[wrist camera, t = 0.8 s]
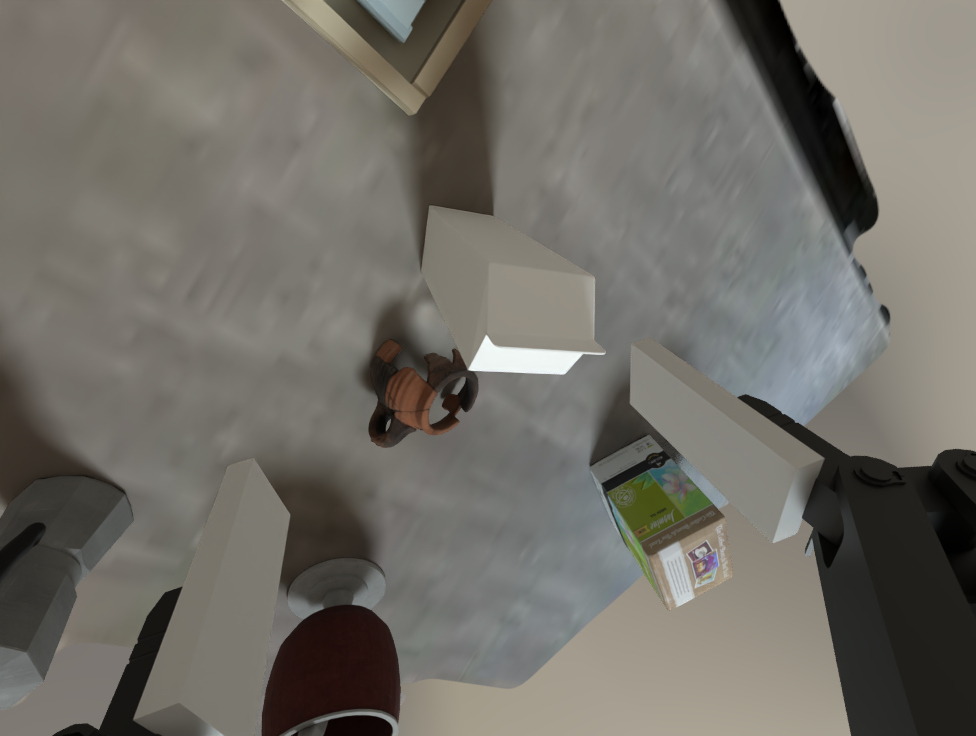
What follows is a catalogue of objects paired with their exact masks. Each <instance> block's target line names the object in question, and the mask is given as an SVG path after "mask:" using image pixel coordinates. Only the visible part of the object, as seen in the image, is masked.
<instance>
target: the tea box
mask: <svg viewBox="0 0 976 736" xmlns="http://www.w3.org/2000/svg"><path fill="white" fill-rule="evenodd" d="M590 470H591V473H592V475H593V478H594V481H595V483H596V486H597V488H598V491H599V493H600V495H601V498H602V500H603V503H604V505H605V507H606V509H607V512H608V514H609V517H610V519H611V521H612V524H613V525H614V527H615V529H616V530H617V532H618V533H619V535H620V536H621V538H622V540H623V541H624V543H625V545H626V546H627V548H628V549H629V551H630V552H631V554H632V555H633V557H634V558H635V560H636V562H637V563H638V565H639V566H640V568H641V570H642V571H643V573H644V574H645V576H646V577H647V579H648V580H649V582H650V583H651V585H652V587H653V588H654V590H655V591H656V593H657V594H658V596H659V598H660V599H661V601H662V602H663V604H664V605H665V606H666V608H667V609H668V610H669V611H670V610H672V609H674V608H676V607H678V606H680V605H682V604H684V603H686V602H687V601H689V600H691V599H693V598H694V597H696V596H698V595H700V594H702V593H704V592H706V591H708V590H709V589H711V588H713V587H715V586H717V585H718V584H720V583H722V582H724V581H726V580H728V579H730V578H732V577H733V570H732V564H731V557H730V550H729V543H728V536H727V527H726V520H725V516H724V515H723V514H722V513H721V512H720V511H719V510H718V509H717V508H716V506H715V505H714V504H713V503H712V502H711V501H710V500H709V499H708V498H707V497H706V496H705V495H704V493H703V492H702V491H701V490H700V489H699V488H698V487H697V486H696V485H695V484H694V483H693V482H692V480H691V479H690V478H689V477H688V476H687V475H686V474H685V473H684V472H683V471H682V469H681V468H680V467H679V466H678V465H677V464H676V463H675V462H674V461H673V460H672V459H671V458H670V457H669V456H668V455H667V454H666V452H665V451H664V450H663V449H662V448H661V447H660V446H659V444H658V443H657V442H656V441H655V440H654V439H653V438H652V437H651V436H650V435H647V436H646V437H644V438H642V439H640V440H638V441H636V442H634V443H632V444H630V445H628V446H626V447H624V448H622V449H621V450H619V451H617V452H615V453H613V454H611V455H610V456H608V457H606V458H604V459H602V460H600V461H599V462H597V463H595V464H594V465H592V466H590Z"/></svg>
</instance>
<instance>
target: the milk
mask: <svg viewBox="0 0 976 736" xmlns="http://www.w3.org/2000/svg"><path fill="white" fill-rule="evenodd" d="M421 273H422V275H423V277H424V279H425V281H426V283H427V286H428V288H429V290H430V292H431V294H432V296H433V298H434V300H435V302H436V304H437V306H438V308H439V311H440V313H441V315H442V317H443V319H444V321H445V323H446V325H447V327H448V329H449V331H450V333H451V335H452V338H453V340H454V342H455V344H456V346H457V348H458V350H459V352H460V354H461V356H462V358H463V360H464V363H465V365H466V367H467V369H468V370H470V371H493V372H517V373H542V374H565V373H566V372H567V371H568V370H569V369H570V368H571V367H572V366H573V364H574V363H575V362H576V361H577V360H578V359H579V358H580V357H581V356H582V354H597V355H604V354H605V353H606V351H605V350H604V349H603V348H602V347H601V346H600V345H599V344H598V343H596V342H595V340H594V313H595V277H594V276H593V275H591V274H589V273H588V272H586V271H584V270H583V269H581V268H579V267H578V266H576V265H574V264H573V263H571V262H569V261H568V260H566V259H564V258H563V257H561V256H559V255H558V254H556V253H554V252H553V251H551V250H549V249H548V248H546V247H544V246H543V245H541V244H539V243H538V242H536V241H534V240H533V239H531V238H529V237H528V236H526V235H524V234H523V233H521V232H519V231H518V230H516V229H514V228H513V227H511V226H510V225H508V224H506V223H505V222H503V221H501V220H500V219H498V218H496V217H495V216H491V215H485V214H479V213H473V212H468V211H462V210H456V209H450V208H444V207H439V206H433V205H429V211H428V219H427V227H426V236H425V244H424V252H423V260H422V268H421Z"/></svg>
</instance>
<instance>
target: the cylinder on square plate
mask: <svg viewBox="0 0 976 736" xmlns="http://www.w3.org/2000/svg"><path fill="white" fill-rule="evenodd" d="M356 1H357V2H358V3H359V4H360V5H361V6H362V7H363V8H364V9H365V10H366V11H367V12H368V13H369V14H370V15H371V16H372V17H373V18H374V19H375V20H376V21H377V22H378V23H379V24H380V25H381V26H382V27H383V28H384V29H385V30H386V31H387V32H388V33H389V34H390V35H391V36H392V37H393V38H394V39H395V40H396V41H397V42H398V43H399V44H400V43H401V42H403V43H404V42H405V41H406V39H407V37H408V36H409V34H410V32H411V31H412V29H413V27H412V26H411V25H412V24H413V22H414V20H415V19H416V17H417V15H418V14H419V12H420V10H421V9H422V7H423V5H424V4H425V2H426V1H427V0H356Z"/></svg>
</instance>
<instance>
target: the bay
mask: <svg viewBox="0 0 976 736" xmlns="http://www.w3.org/2000/svg"><path fill="white" fill-rule="evenodd" d="M282 1H283V2H284V3H285V4H286V5H287V6H289V7H290V8H291V9H292V10H293V11H294V12H295V13H296V14H297V15H298V16H300V17H301V18H302V19H303V20H304V21H305V22H306V23H307V24H308V25H310V26H311V27H312V28H313V29H314V30H315V31H316V32H317V33H318V34H319V35H321V36H322V37H323V38H324V39H325V40H326V41H327V42H328V43H329V44H331V45H332V46H333V47H334V48H335V49H336V50H337V51H338V52H339V53H340V54H342V55H343V56H344V57H345V58H346V59H347V60H348V61H349V62H350V63H351V64H353V65H354V66H355V67H356V68H357V69H358V70H359V71H360V72H361V73H363V74H364V75H365V76H366V77H367V78H368V79H369V80H370V81H371V82H372V83H374V84H375V85H376V86H377V87H378V88H379V89H380V90H381V91H382V92H383V93H385V94H386V95H387V96H388V97H389V98H390V99H391V100H392V101H393V102H395V103H396V104H397V105H398V106H399V107H400V108H401V109H402V110H403V111H404V112H406V113H407V114H408V115H409V116H410V115H414V114H416V113H417V111H418V110H419V108H420V106H421V105H422V103H423V102H424V100H425V99H426V98H427V97H430V96H431V94H432V93H433V91H434V90H435V88H436V87H437V85H438V83H439V82H440V80H441V79H442V77H443V76H444V74H445V73H446V71H447V70H448V68H449V66H450V65H451V63H452V62H453V60H454V59H455V57H456V56H457V54H458V52H459V51H460V49H461V48H462V46H463V45H464V43H465V42H466V40H467V39H468V37H469V35H470V34H471V32H472V31H473V29H474V28H475V26H476V25H477V23H478V22H479V20H480V18H481V17H482V15H483V14H484V12H485V11H486V9H487V8H488V6H489V5H490V3H491V1H492V0H427V1H426V2H425V4H424V5H423V7H422V9H421V10H420V12H419V14H418V15H417V17H416V19H415V20H414V22H413V24H412V25H411V26H412V27H413V29H412V31H411V32H410V34H409V36H408V37H407V39H406V41H405V42H404V43H403V42H401V43H400V44H399V43H398V42H397V41H396V40H395V39H394V38H393V37H392V36H391V35H390V34H389V33H388V32H387V31H386V30H385V29H384V28H383V27H382V26H381V25H380V24H379V23H378V22H377V21H376V20H375V19H374V18H373V17H372V16H371V15H370V14H369V13H368V12H367V11H366V10H365V9H364V8H363V7H362V6H361V5H360V4H359V3H358V2H357V1H356V0H282Z"/></svg>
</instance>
